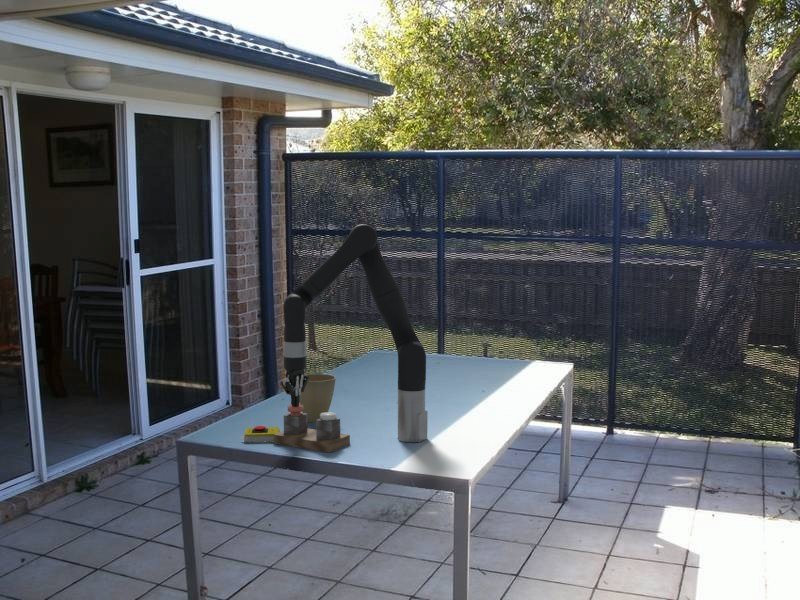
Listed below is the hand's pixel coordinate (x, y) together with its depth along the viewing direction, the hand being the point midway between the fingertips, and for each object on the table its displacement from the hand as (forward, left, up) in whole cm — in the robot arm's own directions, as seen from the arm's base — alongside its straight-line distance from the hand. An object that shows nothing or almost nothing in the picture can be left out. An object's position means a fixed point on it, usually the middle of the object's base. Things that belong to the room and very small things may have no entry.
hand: (295, 406), depth 268 cm
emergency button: (+11, +3, -13) cm, 17 cm away
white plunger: (-13, 0, -8) cm, 15 cm away
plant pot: (+10, -27, -12) cm, 31 cm away
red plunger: (0, 0, -7) cm, 7 cm away
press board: (-7, 0, -12) cm, 13 cm away
